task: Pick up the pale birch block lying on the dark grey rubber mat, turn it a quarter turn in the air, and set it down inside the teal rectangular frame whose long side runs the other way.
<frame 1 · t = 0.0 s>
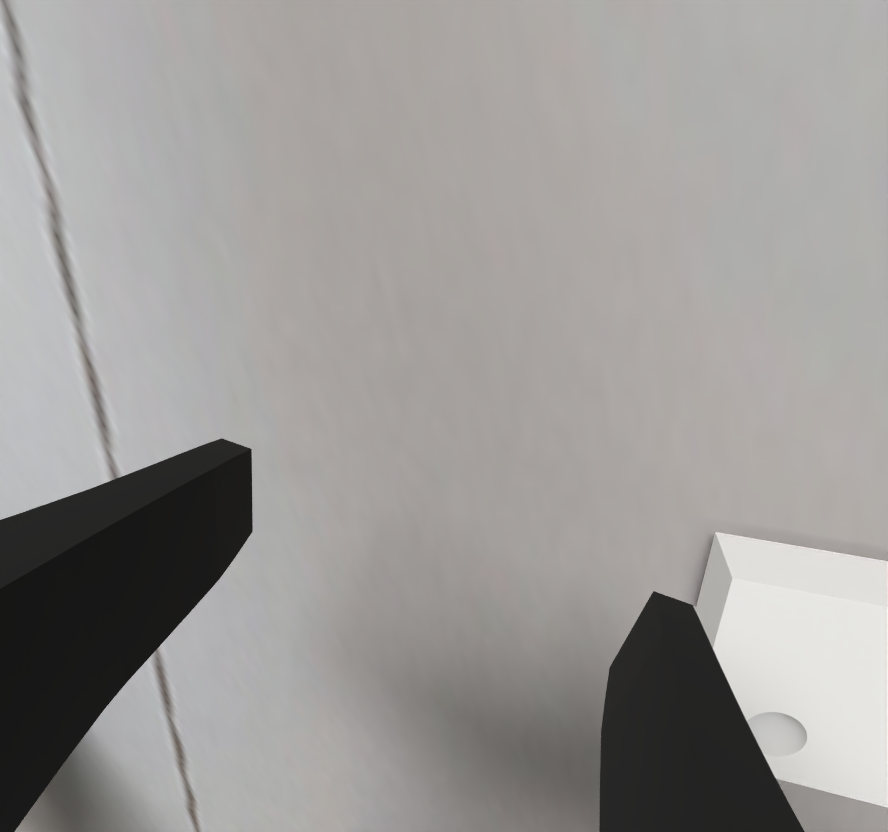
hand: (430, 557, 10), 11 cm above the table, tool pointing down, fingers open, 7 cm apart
bracket: (887, 637, 19), on the table
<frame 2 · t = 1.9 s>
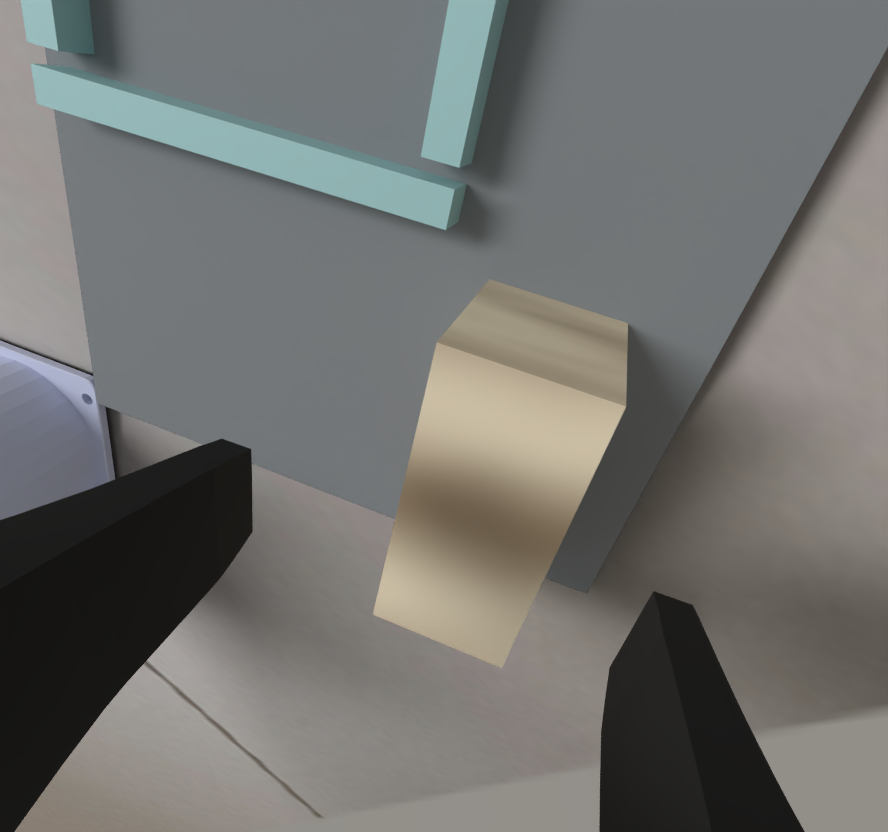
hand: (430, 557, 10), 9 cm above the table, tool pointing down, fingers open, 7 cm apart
teal frame: (273, 5, 14), resting on rubber mat
birch block: (511, 430, 18), point 1 cm above the table, touching rubber mat
rubber mat: (368, 234, 17), on the table
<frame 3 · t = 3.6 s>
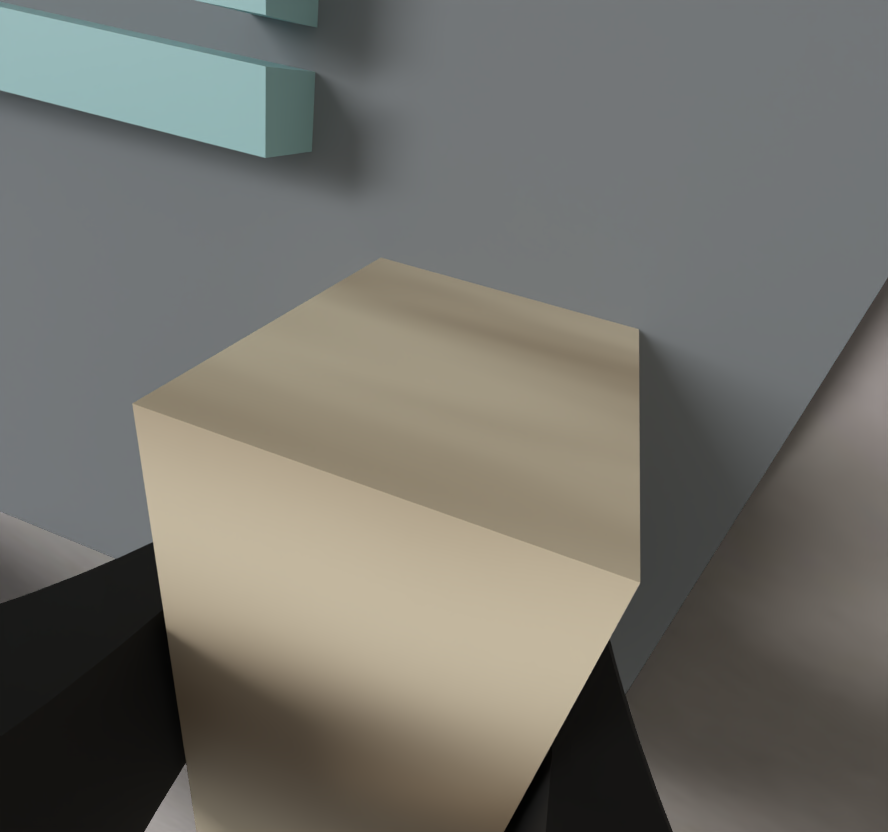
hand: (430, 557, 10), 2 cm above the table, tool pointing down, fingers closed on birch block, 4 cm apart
birch block: (449, 514, 11), point 1 cm above the table, touching gripper, rubber mat
rubber mat: (184, 191, 10), on the table
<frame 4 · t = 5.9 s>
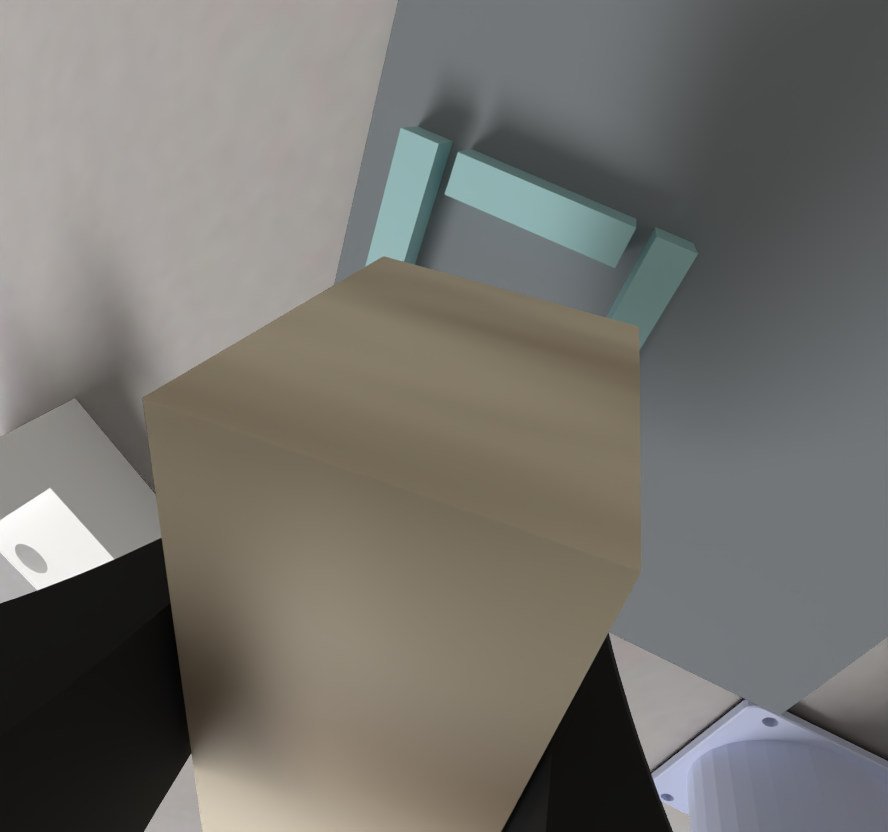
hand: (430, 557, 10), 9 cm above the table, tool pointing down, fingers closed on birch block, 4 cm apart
teal frame: (472, 377, 18), resting on rubber mat
birch block: (451, 511, 11), point 8 cm above the table, touching gripper
rubber mat: (678, 349, 15), on the table
bracket: (136, 523, 28), on the table
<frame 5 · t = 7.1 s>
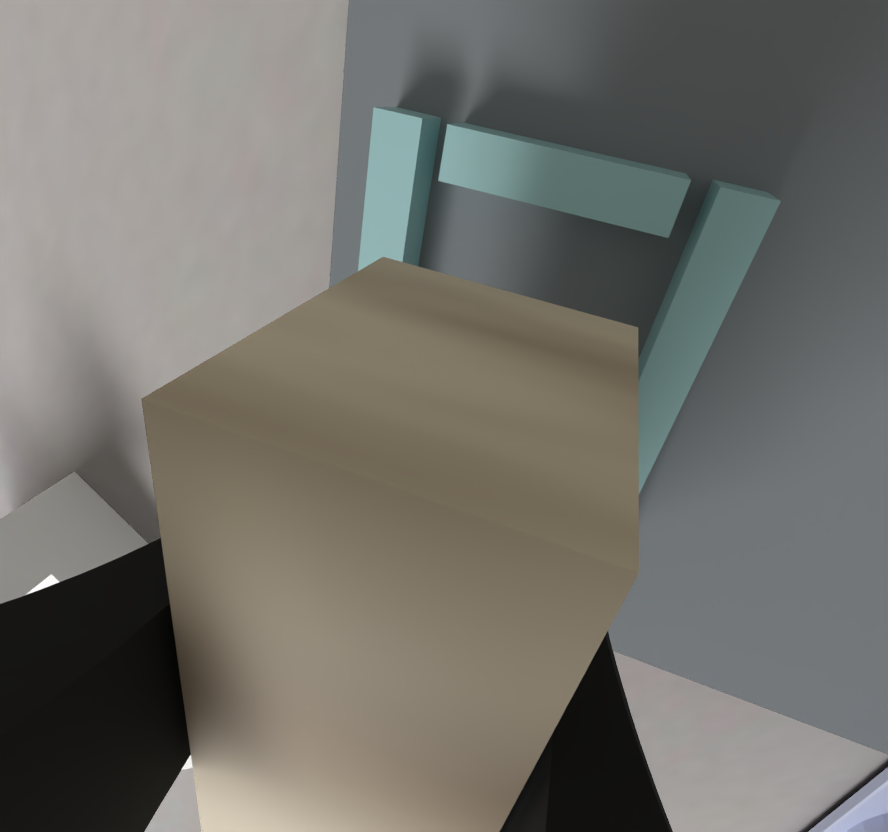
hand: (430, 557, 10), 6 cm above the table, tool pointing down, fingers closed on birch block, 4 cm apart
teal frame: (503, 399, 15), resting on rubber mat
birch block: (450, 511, 11), point 5 cm above the table, touching gripper
rubber mat: (759, 333, 12), on the table
bracket: (158, 598, 26), on the table
when the fingers open (3 cm above the table, at t = 8.2 s): birch block stays where it is, resting on rubber mat.
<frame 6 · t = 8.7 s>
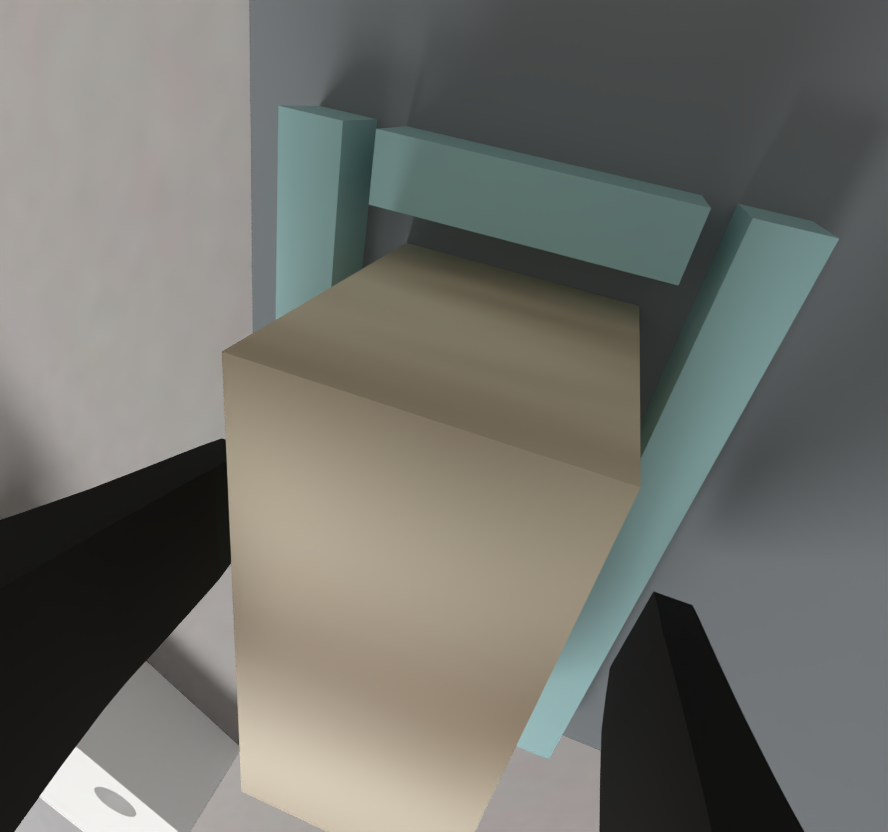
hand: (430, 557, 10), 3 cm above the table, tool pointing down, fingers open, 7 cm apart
teal frame: (472, 465, 12), resting on rubber mat
birch block: (465, 481, 11), point 1 cm above the table, touching rubber mat
rubber mat: (793, 398, 9), on the table
bracket: (94, 650, 23), on the table
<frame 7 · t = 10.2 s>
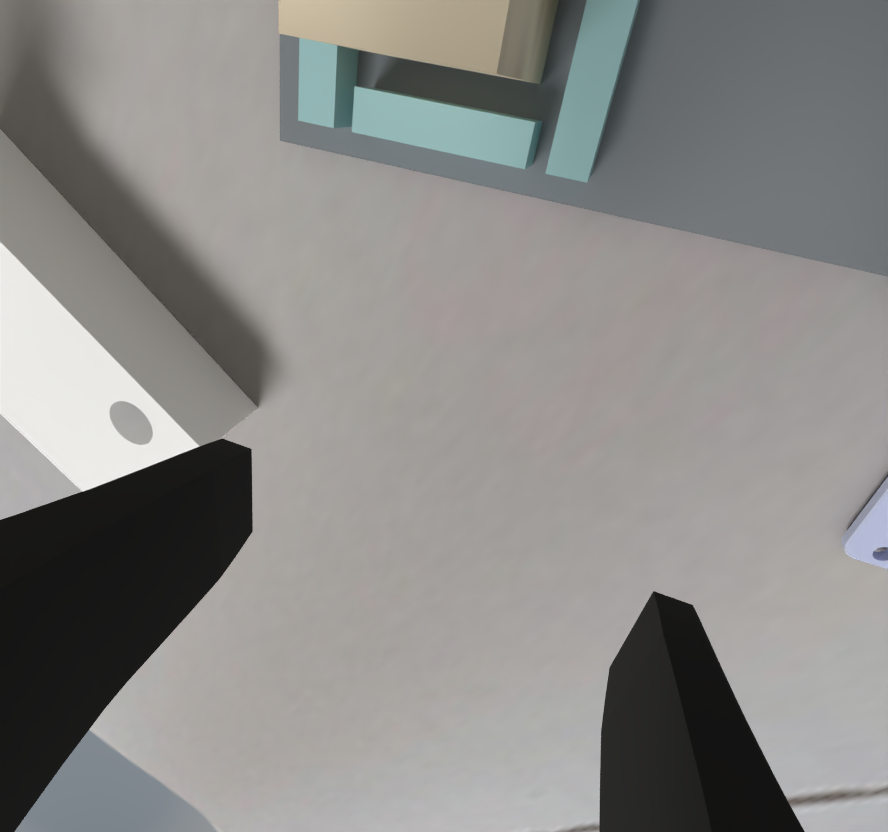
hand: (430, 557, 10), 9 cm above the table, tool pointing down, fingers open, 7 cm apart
bracket: (107, 323, 23), on the table
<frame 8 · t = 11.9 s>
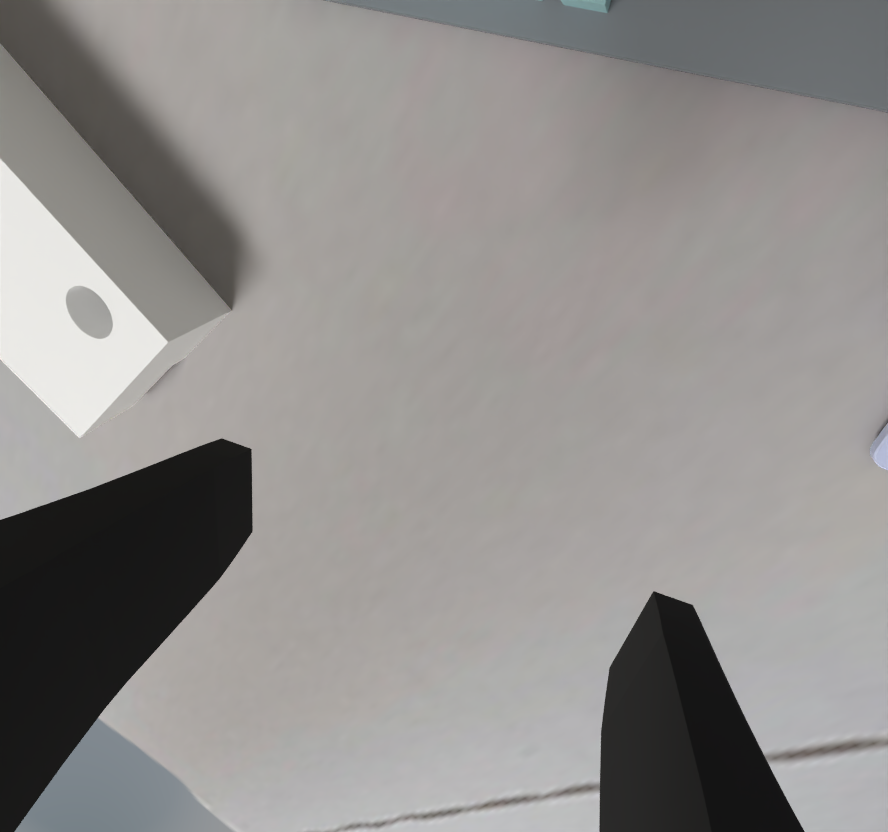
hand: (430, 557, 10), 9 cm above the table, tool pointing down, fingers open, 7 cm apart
bracket: (70, 220, 21), on the table
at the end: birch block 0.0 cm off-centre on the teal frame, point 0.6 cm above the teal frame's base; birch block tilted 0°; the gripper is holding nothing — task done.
